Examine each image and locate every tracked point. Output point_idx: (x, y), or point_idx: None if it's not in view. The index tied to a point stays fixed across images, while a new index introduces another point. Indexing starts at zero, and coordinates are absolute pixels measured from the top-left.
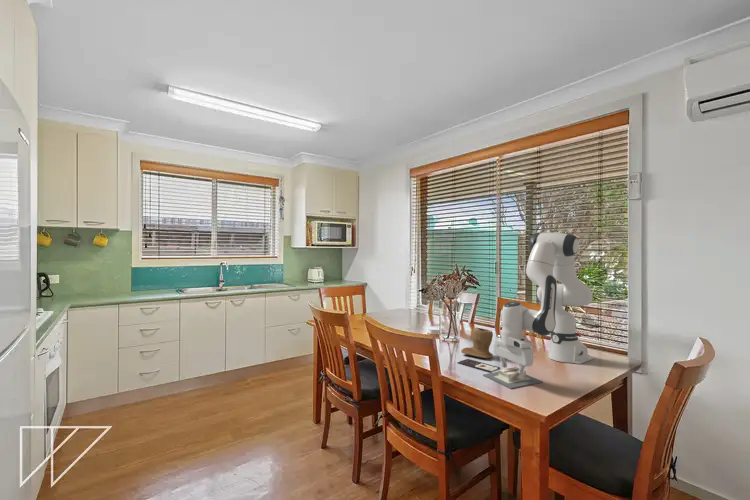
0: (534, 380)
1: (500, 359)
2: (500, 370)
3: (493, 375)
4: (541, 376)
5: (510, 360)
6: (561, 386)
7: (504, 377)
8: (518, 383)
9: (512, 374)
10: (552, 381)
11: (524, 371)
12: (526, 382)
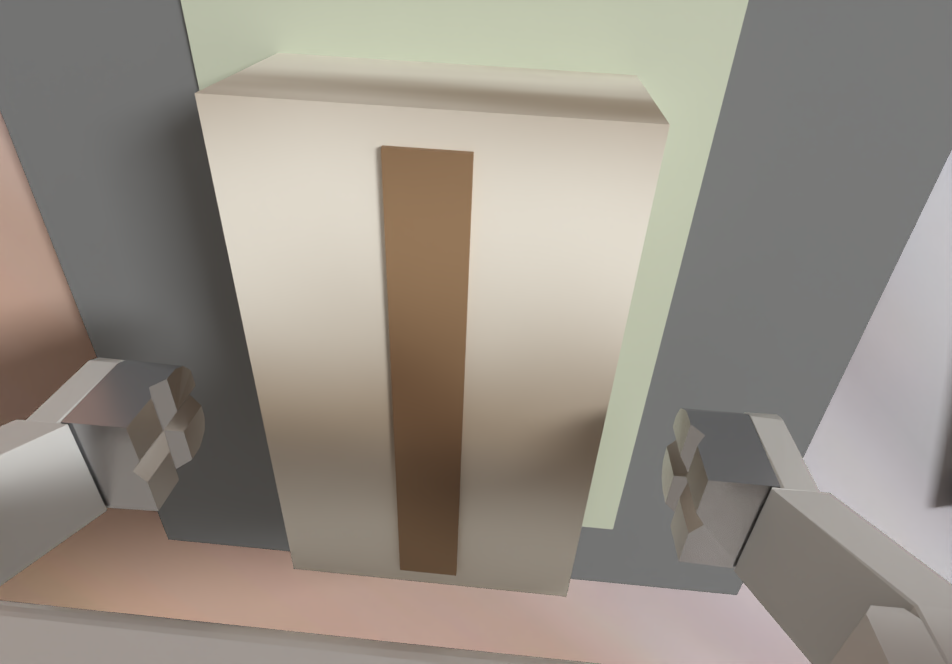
0: (219, 489)
1: (931, 588)
2: (614, 163)
3: (805, 39)
4: (363, 638)
5: (265, 632)
6: (25, 573)
7: (407, 70)
8: (138, 177)
9: (234, 241)
10: (188, 610)
11: (294, 547)
12: (162, 341)
